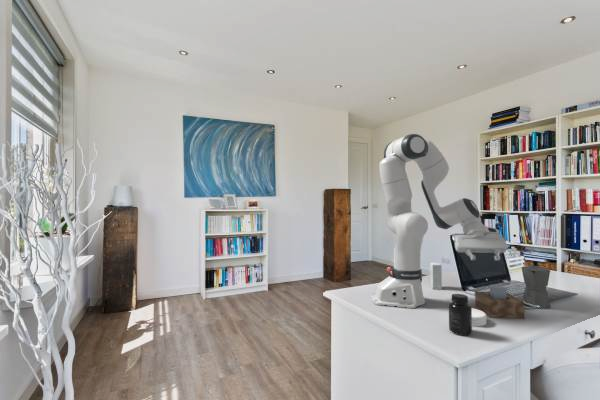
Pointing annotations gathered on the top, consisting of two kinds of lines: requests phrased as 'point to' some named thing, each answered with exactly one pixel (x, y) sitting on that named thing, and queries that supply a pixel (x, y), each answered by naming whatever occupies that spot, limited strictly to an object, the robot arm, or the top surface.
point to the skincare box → (435, 276)
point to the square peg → (497, 292)
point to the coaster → (478, 317)
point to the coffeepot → (536, 285)
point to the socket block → (499, 306)
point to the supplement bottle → (460, 315)
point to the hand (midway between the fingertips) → (485, 259)
